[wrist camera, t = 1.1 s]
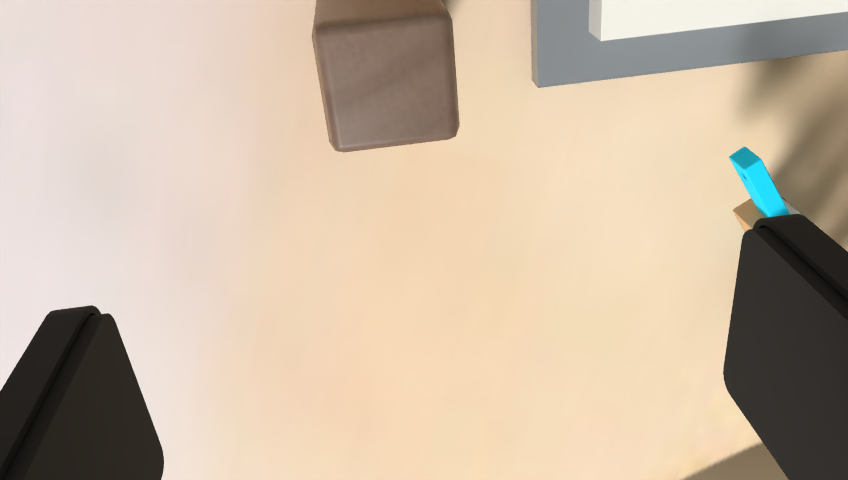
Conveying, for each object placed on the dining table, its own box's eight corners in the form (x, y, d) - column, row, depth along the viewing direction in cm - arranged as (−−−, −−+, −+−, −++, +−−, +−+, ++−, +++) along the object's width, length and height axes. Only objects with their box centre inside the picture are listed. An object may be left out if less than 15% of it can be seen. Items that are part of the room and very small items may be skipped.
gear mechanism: (851, 375, 40) (981, 515, 32) (761, 424, 41) (866, 571, 33) (699, 96, 31) (827, 192, 23) (590, 169, 32) (675, 285, 24)
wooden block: (433, 67, 29) (462, 142, 22) (333, 79, 29) (331, 159, 22) (424, -38, 27) (452, 8, 20) (316, -26, 27) (308, 25, 20)
